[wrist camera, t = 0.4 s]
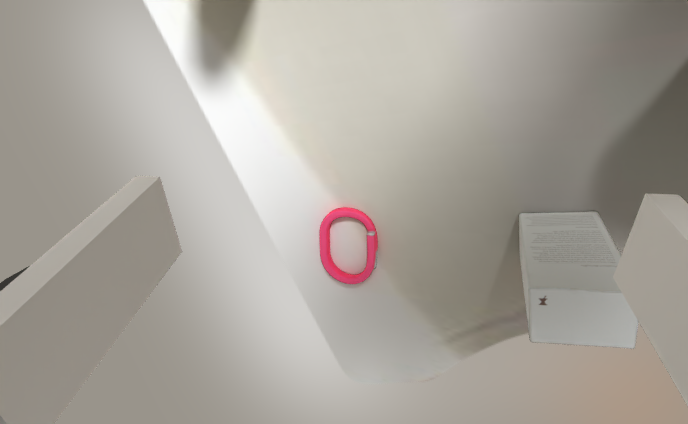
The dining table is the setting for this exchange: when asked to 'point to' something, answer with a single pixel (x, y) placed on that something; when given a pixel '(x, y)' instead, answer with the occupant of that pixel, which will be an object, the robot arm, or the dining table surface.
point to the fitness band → (325, 245)
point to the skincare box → (573, 281)
